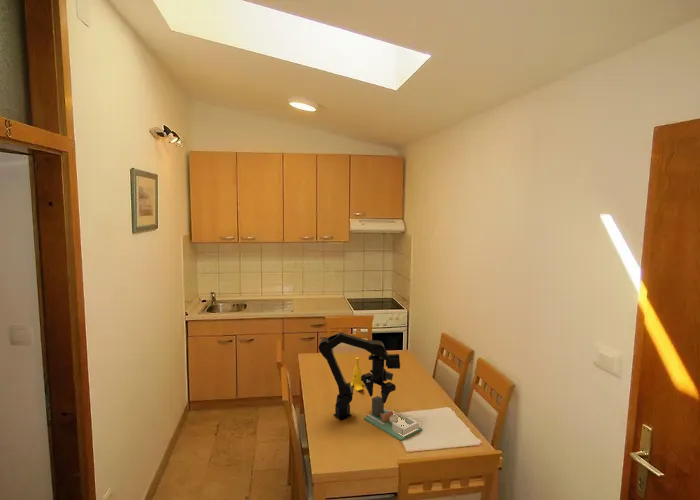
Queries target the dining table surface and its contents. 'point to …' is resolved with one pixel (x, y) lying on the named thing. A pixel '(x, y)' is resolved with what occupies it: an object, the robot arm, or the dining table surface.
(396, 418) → the ball
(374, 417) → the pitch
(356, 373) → the banana peel
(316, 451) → the dining table surface
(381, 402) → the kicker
